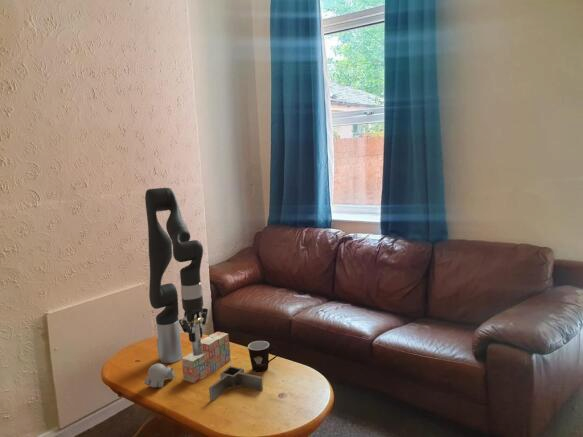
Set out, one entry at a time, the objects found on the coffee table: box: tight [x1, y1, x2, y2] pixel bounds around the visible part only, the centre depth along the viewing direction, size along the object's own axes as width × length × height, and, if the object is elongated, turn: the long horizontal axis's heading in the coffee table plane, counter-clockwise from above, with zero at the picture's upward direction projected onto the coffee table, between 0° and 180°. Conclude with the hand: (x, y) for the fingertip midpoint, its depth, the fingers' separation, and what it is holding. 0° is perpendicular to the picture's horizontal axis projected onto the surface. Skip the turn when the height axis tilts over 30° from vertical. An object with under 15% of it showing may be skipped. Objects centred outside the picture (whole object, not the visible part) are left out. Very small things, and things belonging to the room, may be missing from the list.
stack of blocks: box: [181, 331, 231, 384], centre depth 184 cm, size 21×6×12 cm, turn 147°
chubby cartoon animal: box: [144, 362, 176, 388], centre depth 176 cm, size 7×12×8 cm, turn 139°
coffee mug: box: [247, 340, 280, 373], centre depth 182 cm, size 12×9×10 cm
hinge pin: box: [188, 317, 203, 356], centre depth 167 cm, size 5×5×14 cm
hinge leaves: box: [208, 365, 264, 402], centre depth 166 cm, size 16×16×5 cm
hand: (196, 339), depth 167 cm, fingers closed on hinge pin, 3 cm apart
